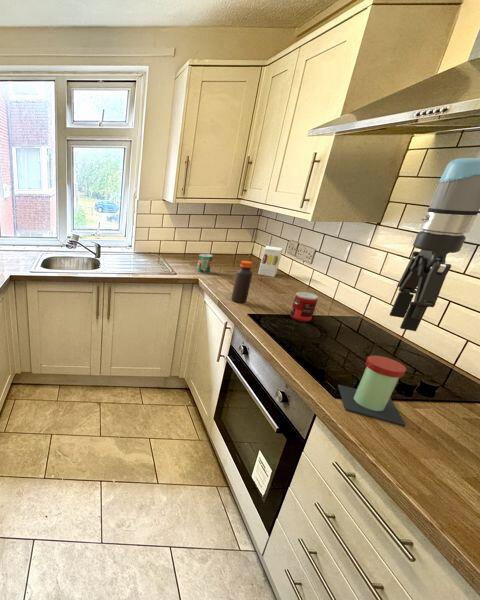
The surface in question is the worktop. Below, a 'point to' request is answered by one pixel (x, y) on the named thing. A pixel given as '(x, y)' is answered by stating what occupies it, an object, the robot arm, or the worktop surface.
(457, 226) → the robot arm
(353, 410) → the coaster
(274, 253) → the supplement box
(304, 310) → the canned food
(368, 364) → the lid
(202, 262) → the canned tomato
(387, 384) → the jar
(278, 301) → the worktop surface
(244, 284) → the bottle
